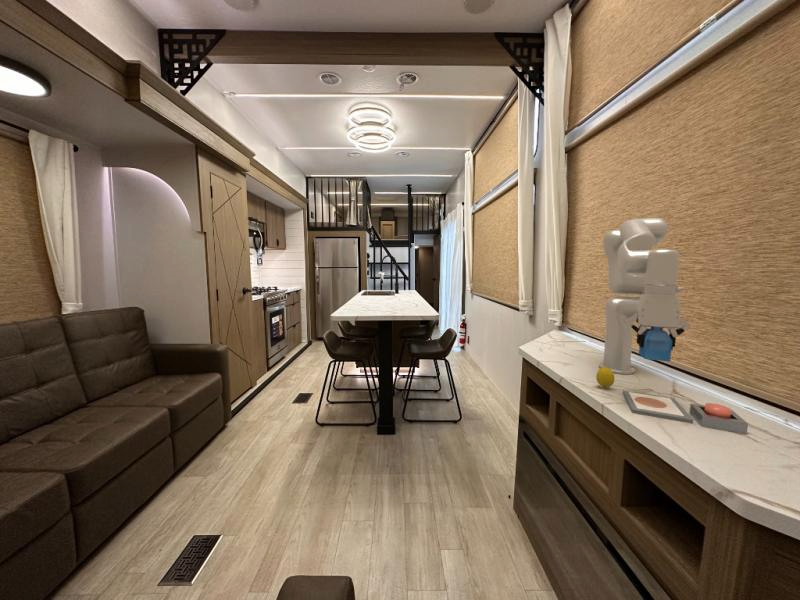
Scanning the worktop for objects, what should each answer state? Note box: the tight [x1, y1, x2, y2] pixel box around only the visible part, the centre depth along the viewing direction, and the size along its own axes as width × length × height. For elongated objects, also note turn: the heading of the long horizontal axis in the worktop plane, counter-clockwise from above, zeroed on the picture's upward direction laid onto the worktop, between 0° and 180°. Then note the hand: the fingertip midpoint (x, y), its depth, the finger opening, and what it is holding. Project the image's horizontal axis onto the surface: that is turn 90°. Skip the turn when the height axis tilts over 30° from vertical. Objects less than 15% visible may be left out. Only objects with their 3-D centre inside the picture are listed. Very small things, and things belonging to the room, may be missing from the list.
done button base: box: [689, 403, 749, 435], centre depth 88 cm, size 9×9×3 cm
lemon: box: [595, 367, 615, 389], centre depth 113 cm, size 6×6×8 cm
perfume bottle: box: [638, 327, 672, 362], centre depth 97 cm, size 6×6×12 cm
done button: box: [704, 402, 732, 419], centre depth 88 cm, size 5×5×3 cm
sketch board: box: [621, 389, 694, 424], centre depth 98 cm, size 17×14×1 cm
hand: (654, 347), depth 97 cm, fingers closed on perfume bottle, 6 cm apart
